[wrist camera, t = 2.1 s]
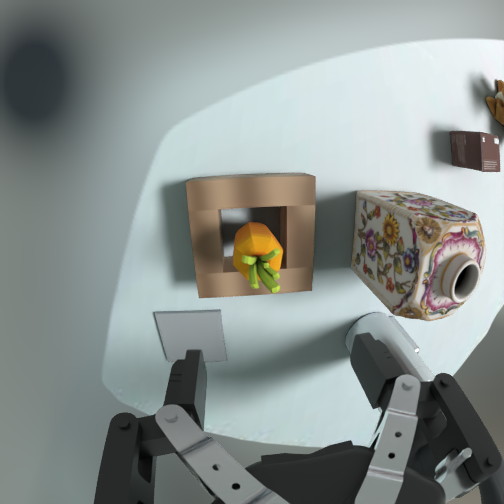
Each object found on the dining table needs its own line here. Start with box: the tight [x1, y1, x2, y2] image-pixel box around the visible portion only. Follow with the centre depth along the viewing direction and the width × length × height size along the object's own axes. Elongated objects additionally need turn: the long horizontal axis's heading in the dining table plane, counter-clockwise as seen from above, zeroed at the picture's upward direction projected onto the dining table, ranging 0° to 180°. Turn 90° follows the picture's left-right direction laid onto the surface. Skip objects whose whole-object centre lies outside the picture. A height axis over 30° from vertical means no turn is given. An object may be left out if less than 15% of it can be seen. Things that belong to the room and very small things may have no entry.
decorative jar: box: [351, 191, 486, 321], centre depth 28 cm, size 12×12×18 cm
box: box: [450, 131, 500, 172], centre depth 29 cm, size 6×6×7 cm
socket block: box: [186, 173, 315, 298], centre depth 33 cm, size 14×14×5 cm
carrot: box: [233, 222, 283, 294], centre depth 28 cm, size 5×5×15 cm
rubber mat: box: [155, 310, 227, 362], centre depth 40 cm, size 10×10×1 cm
